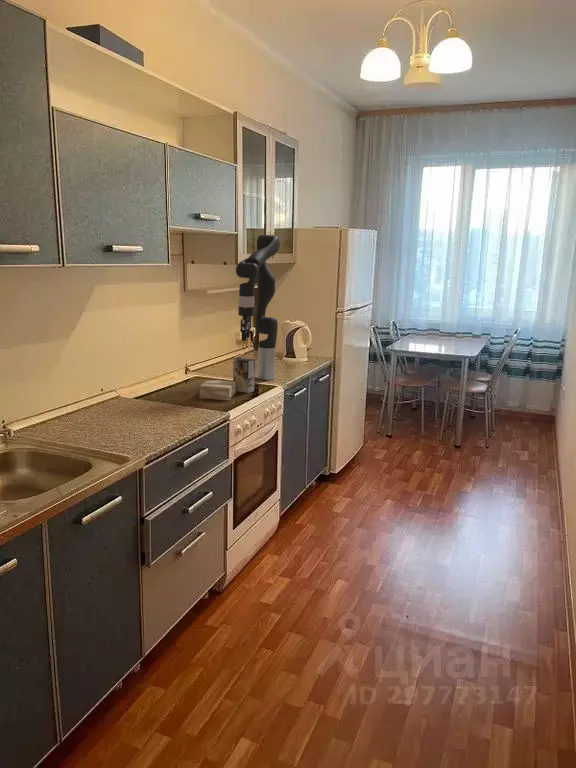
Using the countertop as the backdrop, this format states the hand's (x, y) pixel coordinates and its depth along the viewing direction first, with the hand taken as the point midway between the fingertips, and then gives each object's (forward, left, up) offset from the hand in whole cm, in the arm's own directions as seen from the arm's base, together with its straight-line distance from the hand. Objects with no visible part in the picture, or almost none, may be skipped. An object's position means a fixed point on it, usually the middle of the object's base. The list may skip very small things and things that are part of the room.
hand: (245, 339), depth 273 cm
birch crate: (+12, -10, -26) cm, 31 cm away
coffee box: (0, 0, -26) cm, 26 cm away
